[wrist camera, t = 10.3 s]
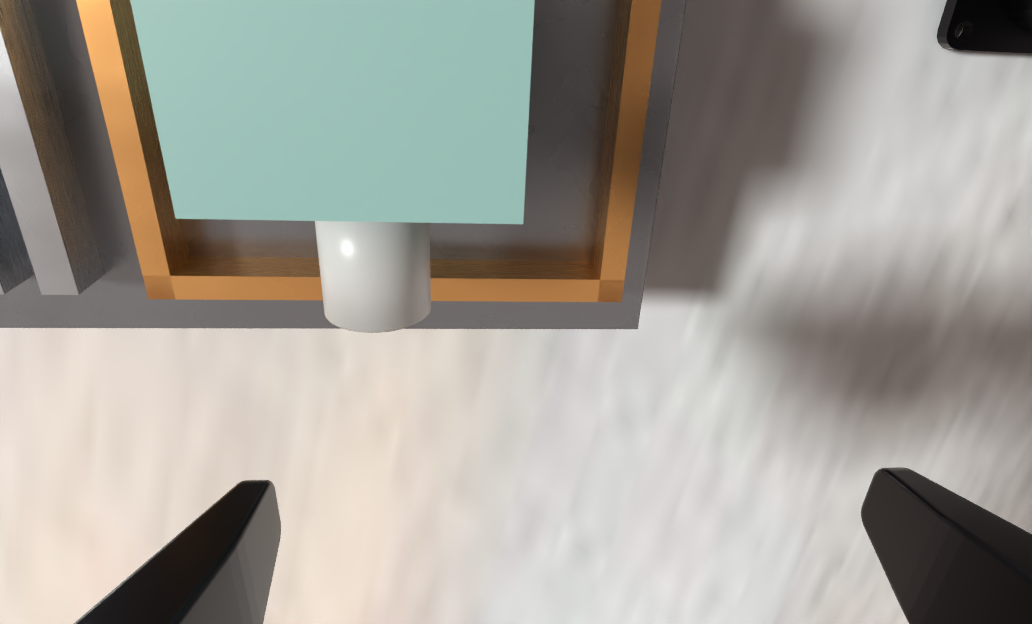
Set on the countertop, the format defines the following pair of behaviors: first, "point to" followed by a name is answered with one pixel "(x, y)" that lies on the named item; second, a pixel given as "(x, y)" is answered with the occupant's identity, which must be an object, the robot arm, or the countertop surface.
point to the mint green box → (345, 128)
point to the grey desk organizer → (293, 244)
